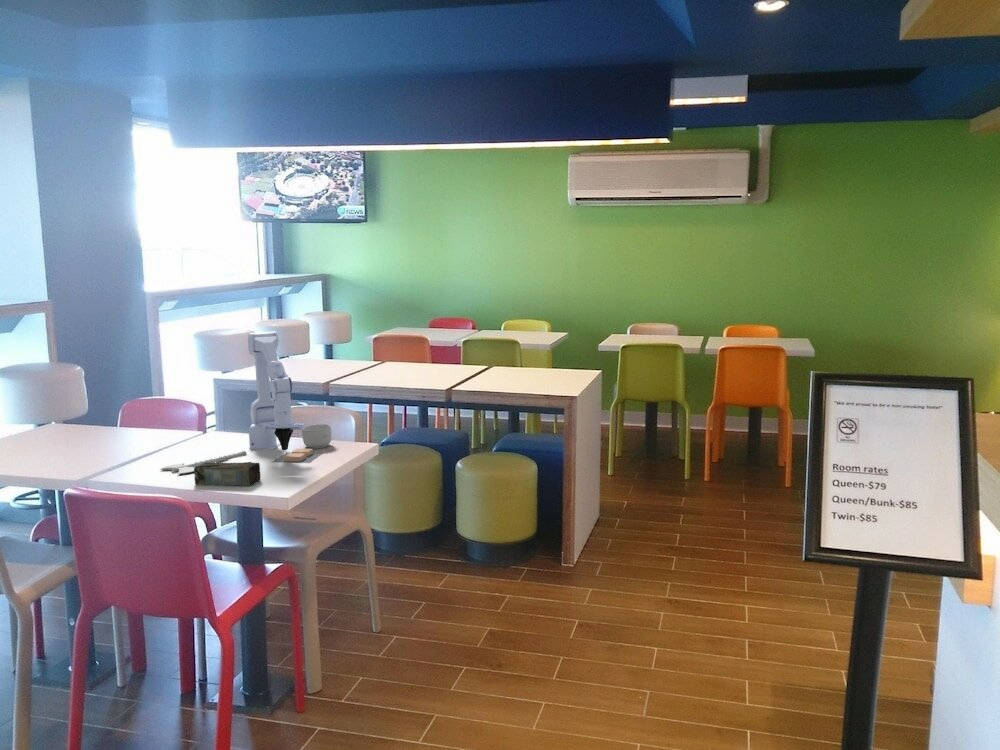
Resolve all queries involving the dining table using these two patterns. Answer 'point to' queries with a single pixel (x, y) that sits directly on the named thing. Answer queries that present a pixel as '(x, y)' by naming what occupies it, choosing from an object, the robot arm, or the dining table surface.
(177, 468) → the axe
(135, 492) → the dining table surface
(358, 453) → the dining table surface
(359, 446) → the dining table surface
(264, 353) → the robot arm
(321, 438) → the teacup
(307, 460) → the mat
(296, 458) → the tile
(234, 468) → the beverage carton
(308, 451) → the tile
